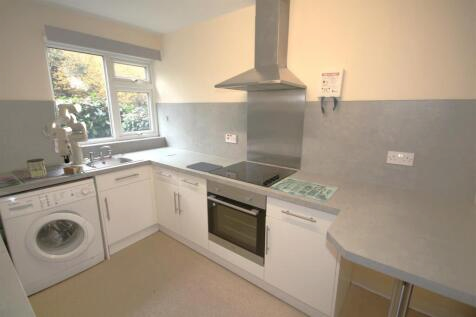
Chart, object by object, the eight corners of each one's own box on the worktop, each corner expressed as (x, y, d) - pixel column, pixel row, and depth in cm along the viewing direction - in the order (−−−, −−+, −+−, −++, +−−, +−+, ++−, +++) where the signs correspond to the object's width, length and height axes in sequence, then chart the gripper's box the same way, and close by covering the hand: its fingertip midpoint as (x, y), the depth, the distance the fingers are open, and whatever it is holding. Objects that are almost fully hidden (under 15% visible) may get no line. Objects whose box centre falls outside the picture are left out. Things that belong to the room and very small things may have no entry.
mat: (77, 170, 196) (77, 170, 196) (89, 171, 193) (89, 171, 192) (61, 174, 183) (61, 174, 183) (74, 175, 179) (74, 175, 179)
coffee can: (28, 177, 178) (24, 160, 175) (43, 174, 187) (39, 158, 184) (34, 178, 174) (30, 161, 171) (49, 175, 183) (46, 159, 180)
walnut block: (72, 165, 193) (82, 166, 189) (73, 171, 194) (83, 171, 190) (63, 167, 185) (73, 168, 182) (64, 173, 186) (74, 174, 183)
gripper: (74, 141, 186) (78, 162, 190) (61, 141, 190) (65, 162, 194) (65, 143, 179) (69, 164, 183) (52, 142, 183) (56, 163, 187)
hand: (67, 163), depth 188 cm, fingers closed
